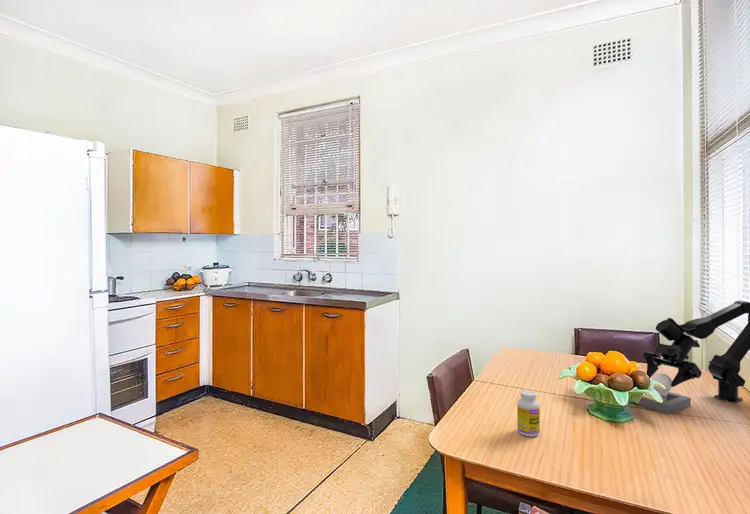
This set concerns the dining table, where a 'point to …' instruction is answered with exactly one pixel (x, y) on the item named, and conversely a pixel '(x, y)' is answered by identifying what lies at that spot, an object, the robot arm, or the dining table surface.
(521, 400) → the supplement bottle
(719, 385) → the robot arm
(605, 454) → the dining table surface
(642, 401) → the socket block
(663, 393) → the lightbulb
